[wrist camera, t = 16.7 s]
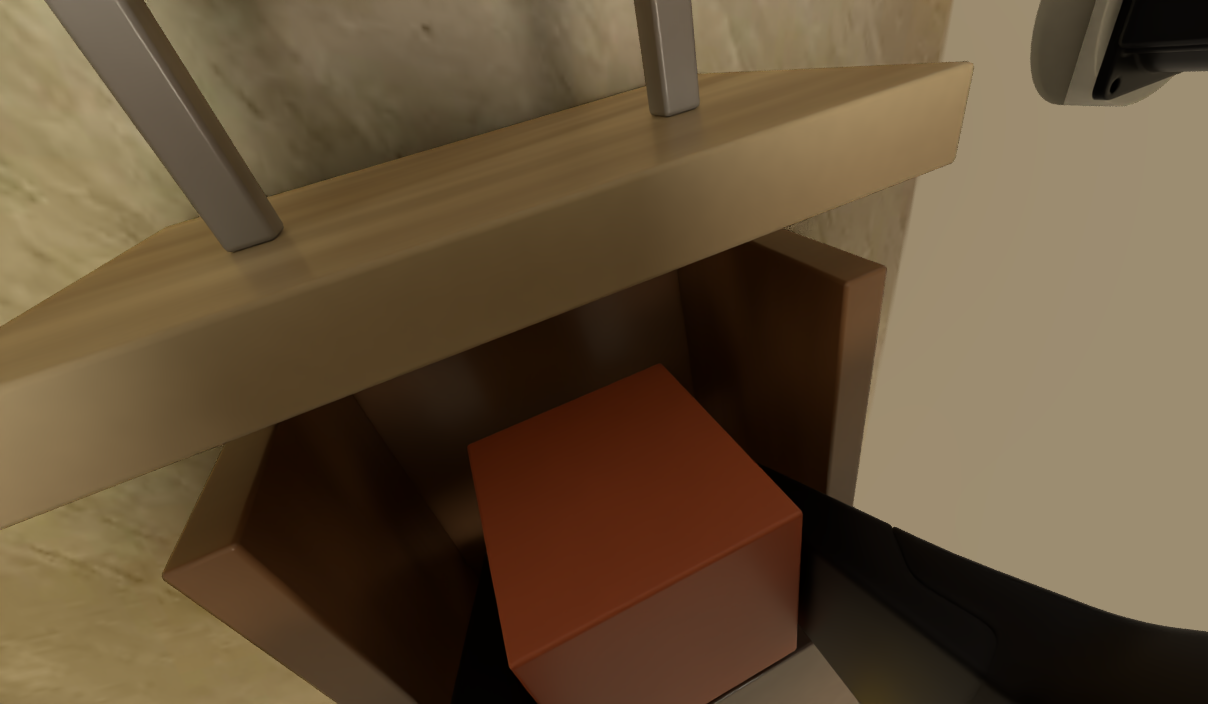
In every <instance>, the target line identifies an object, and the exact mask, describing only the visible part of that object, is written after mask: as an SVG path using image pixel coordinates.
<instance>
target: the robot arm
mask: <svg viewBox="0 0 1208 704" xmlns="http://www.w3.org/2000/svg"><path fill="white" fill-rule="evenodd" d="M1184 71H1208V0H1123V2H1122V5H1121V8H1120V11H1119V14H1118V17H1117V20H1116V23H1115V26H1114V29H1113V31H1112V34H1111V37H1110V40H1109V43H1108V46H1107V49H1106V52H1105V55H1104V58H1103V61H1102V64H1101V67H1100V70H1099V73H1098V76H1097V79H1096V82H1095V85H1094V88H1093V91H1092V98H1093V99H1094V100H1111V99H1114V98H1116V97H1119V96H1121V95H1124V94H1127V93H1129V92H1132V91H1135V90H1137V89H1140V88H1142V87H1145V86H1148V85H1150V84H1153V83H1155V82H1158V81H1161V80H1163V79H1166V78H1168V77H1171V76H1174V75H1176V74H1179V73H1181V72H1184ZM754 462H755V463H756V464H757V465H758V466H759V467H760V468H761V469H762V470H763V471H764V472H765V473H766V474H767V475H768V476H769V477H770V478H771V479H772V480H773V481H774V483H775V484H776V485H777V486H778V487H779V488H780V489H781V490H782V491H783V492H784V493H785V494H786V495H787V496H788V497H789V498H790V499H791V500H792V501H793V503H794V504H795V505H796V506H797V507H798V508H799V509H800V510H801V511H802V514H803V520H802V541H801V563H800V584H799V605H798V624H799V625H800V627H801V628H802V629H803V631H804V632H805V633H806V634H807V636H808V637H809V638H810V640H811V641H812V642H813V644H814V645H815V646H816V647H817V649H818V650H819V651H820V653H821V654H822V655H823V657H824V658H825V659H826V660H827V662H828V663H829V664H830V666H831V667H832V668H833V669H834V671H835V672H836V673H837V675H838V676H839V677H840V679H841V680H842V681H843V682H844V684H845V685H846V686H847V688H848V689H849V690H850V692H851V693H852V694H853V695H854V697H855V698H856V699H857V701H858V702H859V703H860V704H1208V632H1206V631H1198V630H1190V629H1181V628H1173V627H1167V626H1161V625H1156V624H1151V623H1146V622H1142V621H1138V620H1134V619H1130V618H1126V617H1123V616H1119V615H1116V614H1113V613H1109V612H1106V611H1103V610H1101V609H1098V608H1095V607H1092V606H1089V605H1087V604H1084V603H1082V602H1079V601H1076V600H1074V599H1071V598H1068V597H1066V596H1063V595H1060V594H1058V593H1055V592H1052V591H1050V590H1047V589H1044V588H1042V587H1039V586H1037V585H1034V584H1031V583H1029V582H1026V581H1023V580H1020V579H1018V578H1015V577H1013V576H1010V575H1008V574H1005V573H1002V572H1000V571H997V570H994V569H992V568H989V567H987V566H984V565H982V564H979V563H977V562H974V561H972V560H969V559H967V558H964V557H962V556H959V555H957V554H954V553H952V552H950V551H947V550H945V549H943V548H940V547H938V546H936V545H934V544H932V543H929V542H927V541H925V540H923V539H920V538H918V537H916V536H914V535H912V534H910V533H908V532H905V531H903V530H901V529H899V528H897V527H893V528H892V526H891V525H890V524H888V523H886V522H883V521H881V520H879V519H877V518H875V517H873V516H871V515H869V514H867V513H864V512H862V511H860V510H858V509H856V508H854V507H852V506H850V505H847V504H845V503H843V502H841V501H839V500H837V499H835V498H832V497H830V496H828V495H826V494H824V493H822V492H820V491H818V490H815V489H813V488H811V487H809V486H807V485H805V484H803V483H800V482H798V481H796V480H794V479H792V478H790V477H788V476H786V475H783V474H781V473H779V472H777V471H775V470H773V469H771V468H769V467H766V466H764V465H762V464H760V463H758V462H756V461H754ZM450 704H537V703H536V701H535V700H534V699H533V697H532V696H531V695H530V694H529V692H528V691H527V690H526V688H525V687H524V686H523V685H522V683H521V682H520V681H519V679H518V678H517V677H516V676H515V674H514V673H513V672H512V670H511V669H510V668H509V665H508V660H507V655H506V649H505V644H504V639H503V634H502V628H501V623H500V618H499V613H498V607H497V602H496V597H495V592H494V587H493V581H492V576H491V571H490V566H489V560H488V555H487V551H486V553H485V556H484V560H483V564H482V569H481V573H480V577H479V581H478V586H477V590H476V594H475V599H474V603H473V607H472V612H471V616H470V620H469V625H468V629H467V633H466V637H465V642H464V646H463V650H462V655H461V659H460V663H459V668H458V672H457V676H456V681H455V685H454V689H453V693H452V698H451V702H450Z"/></svg>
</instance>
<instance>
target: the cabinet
mask: <svg viewBox="0 0 1208 704" xmlns="http://www.w3.org/2000/svg"><path fill="white" fill-rule="evenodd" d="M707 704H860V703H859V702H858V701H857V699H856V698H855V697H854V695H853V694H852V693H851V692H850V690H849V689H848V688H847V686H846V685H845V684H844V682H843V681H842V680H841V679H840V677H839V676H838V675H837V673H836V672H835V671H834V669H833V668H832V667H831V666H830V664H829V663H828V662H827V660H826V659H825V658H824V657H823V655H822V654H821V653H820V651H819V650H818V649H817V647H816V646H815V645H814V644H813V642H812V641H811V640H810V638H809V637H808V636H807V634H806V633H805V632H804V631H803V629H802V628H801V627H800V625H799V624H798V627H797V648H796V650H795V651H793V652H792V653H790V654H788V655H787V656H785V657H783V658H782V659H780V660H778V661H777V662H775V663H773V664H772V665H770V666H768V667H767V668H765V669H763V670H762V671H760V672H758V673H757V674H755V675H753V676H752V677H750V678H748V679H747V680H745V681H743V682H742V683H740V684H738V685H737V686H735V687H733V688H732V689H730V690H728V691H727V692H725V693H723V694H722V695H720V696H718V697H717V698H715V699H713V700H712V701H710V702H708V703H707Z"/></svg>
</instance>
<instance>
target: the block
mask: <svg viewBox="0 0 1208 704" xmlns="http://www.w3.org/2000/svg"><path fill="white" fill-rule="evenodd" d="M467 451H468V456H469V461H470V466H471V472H472V477H473V482H474V487H475V492H476V498H477V503H478V508H479V513H480V519H481V524H482V529H483V534H484V540H485V545H486V550H487V555H488V560H489V566H490V571H491V576H492V581H493V587H494V592H495V597H496V602H497V607H498V613H499V618H500V623H501V628H502V634H503V639H504V644H505V649H506V655H507V660H508V665H509V668H510V669H511V670H512V672H513V673H514V674H515V676H516V677H517V678H518V679H519V681H520V682H521V683H522V685H523V686H524V687H525V688H526V690H527V691H528V692H529V694H530V695H531V696H532V697H533V699H534V700H535V701H536V703H537V704H707V703H708V702H710V701H712V700H713V699H715V698H717V697H718V696H720V695H722V694H723V693H725V692H727V691H728V690H730V689H732V688H733V687H735V686H737V685H738V684H740V683H742V682H743V681H745V680H747V679H748V678H750V677H752V676H753V675H755V674H757V673H758V672H760V671H762V670H763V669H765V668H767V667H768V666H770V665H772V664H773V663H775V662H777V661H778V660H780V659H782V658H783V657H785V656H787V655H788V654H790V653H792V652H793V651H795V650H796V648H797V627H798V605H799V584H800V563H801V541H802V520H803V514H802V511H801V510H800V509H799V508H798V507H797V506H796V505H795V504H794V503H793V501H792V500H791V499H790V498H789V497H788V496H787V495H786V494H785V493H784V492H783V491H782V490H781V489H780V488H779V487H778V486H777V485H776V484H775V483H774V481H773V480H772V479H771V478H770V477H769V476H768V475H767V474H766V473H765V472H764V471H763V470H762V469H761V468H760V467H759V466H758V465H757V464H756V463H755V462H754V460H753V459H752V458H751V457H750V456H749V455H748V454H747V453H746V452H745V451H744V450H743V449H742V448H741V447H740V446H739V445H738V444H737V443H736V442H735V441H734V439H733V438H732V437H731V436H730V435H729V434H728V433H727V432H726V431H725V430H724V429H723V428H722V427H721V426H720V425H719V424H718V423H717V422H716V421H715V419H714V418H713V417H712V416H711V415H710V414H709V413H708V412H707V411H706V410H705V409H704V408H703V407H702V406H701V405H700V404H699V403H698V402H697V401H696V400H695V398H694V397H693V396H692V395H691V394H690V393H689V392H688V391H687V390H686V389H685V388H684V387H683V386H682V385H681V384H680V383H679V382H678V381H677V380H676V378H675V377H674V376H673V375H672V374H671V373H670V372H669V371H668V370H667V369H666V368H665V367H664V366H663V365H662V364H661V363H658V364H656V365H654V366H651V367H649V368H647V369H644V370H642V371H640V372H637V373H635V374H633V375H630V376H628V377H625V378H623V379H621V380H618V381H616V382H614V383H611V384H609V385H607V386H604V387H602V388H600V389H597V390H595V391H593V392H590V393H588V394H586V395H583V396H581V397H579V398H576V399H574V400H572V401H569V402H567V403H565V404H562V405H560V406H558V407H555V408H553V409H551V410H548V411H546V412H544V413H541V414H539V415H536V416H534V417H532V418H529V419H527V420H525V421H522V422H520V423H518V424H515V425H513V426H511V427H508V428H506V429H504V430H501V431H499V432H497V433H494V434H492V435H490V436H487V437H485V438H483V439H480V440H478V441H476V442H473V443H471V444H469V445H468V446H467Z"/></svg>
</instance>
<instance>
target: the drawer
mask: <svg viewBox="0 0 1208 704" xmlns="http://www.w3.org/2000/svg"><path fill="white" fill-rule="evenodd" d="M45 2H46V3H47V5H48V6H49V7H50V9H51V10H52V11H53V13H54V14H55V16H56V17H57V18H58V20H59V21H60V23H61V24H62V25H63V27H64V28H65V29H66V31H67V32H68V34H69V35H70V36H71V38H72V39H73V41H74V42H75V43H76V45H77V46H78V47H79V49H80V50H81V52H82V53H83V54H84V56H85V57H86V59H87V60H88V61H89V63H90V64H91V65H92V67H93V68H94V70H95V71H96V72H97V74H98V75H99V77H100V78H101V79H102V81H103V82H104V83H105V85H106V86H107V88H108V89H109V90H110V92H111V93H112V95H113V96H114V97H115V99H116V100H117V101H118V103H119V104H120V106H121V107H122V108H123V110H124V111H125V113H126V114H127V115H128V117H129V118H130V119H131V121H132V122H133V124H134V125H135V126H136V128H137V129H138V131H139V132H140V133H141V135H142V136H143V137H144V139H145V140H146V142H147V143H148V144H149V146H150V147H151V148H152V150H153V151H154V153H155V154H156V155H157V157H158V158H159V160H160V161H161V162H162V164H163V165H164V166H165V168H166V169H167V171H168V172H169V173H170V175H171V176H172V178H173V179H174V180H175V182H176V183H177V184H178V186H179V187H180V189H181V190H182V191H183V193H184V194H185V196H186V197H187V198H188V200H189V201H190V202H191V204H192V205H193V207H194V208H195V209H196V211H197V212H198V214H199V215H200V216H201V217H198V218H195V219H191V220H188V221H184V222H181V223H177V224H174V225H171V226H167V227H165V228H164V229H162V230H160V231H159V232H157V233H155V234H154V235H152V236H150V237H149V238H147V239H145V240H144V241H142V242H140V243H139V244H137V245H135V246H134V247H132V248H130V249H129V250H127V251H125V252H124V253H122V254H120V255H119V256H117V257H115V258H114V259H112V260H110V261H109V262H107V263H105V264H104V265H102V266H100V267H99V268H97V269H95V270H94V271H92V272H90V273H89V274H87V275H85V276H84V277H82V278H80V279H79V280H77V281H76V282H74V283H72V284H71V285H69V286H67V287H66V288H64V289H62V290H61V291H59V292H57V293H56V294H54V295H52V296H51V297H49V298H47V299H46V300H44V301H42V302H41V303H39V304H37V305H36V306H34V307H32V308H31V309H29V310H27V311H26V312H24V313H22V314H21V315H19V316H17V317H16V318H14V319H12V320H11V321H9V322H7V323H6V324H4V325H2V326H1V327H0V530H2V529H4V528H7V527H9V526H12V525H15V524H17V523H20V522H22V521H25V520H27V519H30V518H33V517H35V516H38V515H40V514H43V513H46V512H48V511H51V510H53V509H56V508H59V507H61V506H64V505H66V504H69V503H72V502H74V501H77V500H79V499H82V498H85V497H87V496H90V495H92V494H95V493H98V492H100V491H103V490H105V489H108V488H111V487H113V486H116V485H118V484H121V483H123V482H126V481H129V480H131V479H134V478H136V477H139V476H142V475H144V474H147V473H149V472H152V471H155V470H157V469H160V468H162V467H165V466H168V465H170V464H173V463H175V462H178V461H181V460H183V459H186V458H188V457H191V456H194V455H196V454H199V453H201V452H204V451H206V450H209V449H212V448H214V447H217V446H219V445H222V444H225V445H224V447H223V449H222V451H221V453H220V455H219V457H218V459H217V461H216V463H215V465H214V467H213V469H212V471H211V473H210V476H209V478H208V480H207V482H206V484H205V486H204V488H203V490H202V492H201V494H200V496H199V498H198V500H197V502H196V504H195V507H194V509H193V511H192V513H191V515H190V517H189V519H188V521H187V523H186V525H185V527H184V529H183V531H182V533H181V535H180V538H179V540H178V542H177V544H176V546H175V548H174V550H173V552H172V554H171V556H170V558H169V560H168V562H167V564H166V566H165V569H164V571H163V573H162V578H163V580H164V581H165V582H167V583H168V584H170V585H171V586H173V587H174V588H175V589H177V590H178V591H180V592H181V593H182V594H184V595H185V596H187V597H188V598H189V599H191V600H192V601H194V602H195V603H196V604H198V605H199V606H201V607H202V608H203V609H205V610H206V611H208V612H209V613H211V614H212V615H213V616H215V617H216V618H218V619H219V620H220V621H222V622H223V623H225V624H226V625H227V626H229V627H230V628H232V629H233V630H234V631H236V632H237V633H239V634H240V635H242V636H243V637H244V638H246V639H247V640H249V641H250V642H251V643H253V644H254V645H256V646H257V647H258V648H260V649H261V650H263V651H264V652H265V653H267V654H268V655H270V656H271V657H273V658H274V659H275V660H277V661H278V662H280V663H281V664H282V665H284V666H285V667H287V668H288V669H289V670H291V671H292V672H294V673H295V674H296V675H298V676H299V677H301V678H302V679H304V680H305V681H306V682H308V683H309V684H311V685H312V686H313V687H315V688H316V689H318V690H319V691H320V692H322V693H323V694H325V695H326V696H327V697H329V698H330V699H332V700H333V701H335V702H336V703H337V704H450V702H451V698H452V693H453V689H454V685H455V681H456V676H457V672H458V668H459V663H460V659H461V655H462V650H463V646H464V642H465V637H466V633H467V629H468V625H469V620H470V616H471V612H472V607H473V603H474V599H475V594H476V590H477V586H478V581H479V577H480V573H481V569H482V564H483V560H484V556H485V553H486V551H487V550H486V545H485V540H484V534H483V529H482V524H481V519H480V513H479V508H478V503H477V498H476V492H475V487H474V482H473V477H472V472H471V466H470V461H469V456H468V451H467V446H468V445H469V444H471V443H473V442H476V441H478V440H480V439H483V438H485V437H487V436H490V435H492V434H494V433H497V432H499V431H501V430H504V429H506V428H508V427H511V426H513V425H515V424H518V423H520V422H522V421H525V420H527V419H529V418H532V417H534V416H536V415H539V414H541V413H544V412H546V411H548V410H551V409H553V408H555V407H558V406H560V405H562V404H565V403H567V402H569V401H572V400H574V399H576V398H579V397H581V396H583V395H586V394H588V393H590V392H593V391H595V390H597V389H600V388H602V387H604V386H607V385H609V384H611V383H614V382H616V381H618V380H621V379H623V378H625V377H628V376H630V375H633V374H635V373H637V372H640V371H642V370H644V369H647V368H649V367H651V366H654V365H656V364H658V363H661V364H662V365H663V366H664V367H665V368H666V369H667V370H668V371H669V372H670V373H671V374H672V375H673V376H674V377H675V378H676V380H677V381H678V382H679V383H680V384H681V385H682V386H683V387H684V388H685V389H686V390H687V391H688V392H689V393H690V394H691V395H692V396H693V397H694V398H695V400H696V401H697V402H698V403H699V404H700V405H701V406H702V407H703V408H704V409H705V410H706V411H707V412H708V413H709V414H710V415H711V416H712V417H713V418H714V419H715V421H716V422H717V423H718V424H719V425H720V426H721V427H722V428H723V429H724V430H725V431H726V432H727V433H728V434H729V435H730V436H731V437H732V438H733V439H734V441H735V442H736V443H737V444H738V445H739V446H740V447H741V448H742V449H743V450H744V451H745V452H746V453H747V454H748V455H749V456H750V457H751V458H752V459H753V460H754V461H756V462H758V463H760V464H762V465H764V466H766V467H769V468H771V469H773V470H775V471H777V472H779V473H781V474H783V475H786V476H788V477H790V478H792V479H794V480H796V481H798V482H800V483H803V484H805V485H807V486H809V487H811V488H813V489H815V490H818V491H820V492H822V493H824V494H826V495H828V496H830V497H832V498H835V499H837V500H839V501H841V502H843V503H845V504H847V505H850V506H852V507H853V501H854V494H855V488H856V481H857V474H858V467H859V460H860V453H861V446H862V439H863V432H864V425H865V418H866V411H867V404H868V397H869V391H870V384H871V377H872V370H873V363H874V356H875V349H876V342H877V335H878V328H879V321H880V314H881V307H882V300H883V294H884V287H885V280H886V273H887V268H886V267H885V266H884V265H881V264H878V263H876V262H873V261H870V260H867V259H865V258H862V257H859V256H857V255H854V254H851V253H848V252H846V251H843V250H840V249H837V248H835V247H832V246H829V245H826V244H824V243H821V242H818V241H815V240H813V239H810V238H807V237H805V236H802V235H799V234H796V233H794V232H791V231H788V230H785V229H783V228H785V227H788V226H790V225H793V224H795V223H798V222H801V221H803V220H806V219H808V218H811V217H813V216H816V215H819V214H821V213H824V212H826V211H829V210H832V209H834V208H837V207H839V206H842V205H845V204H847V203H850V202H852V201H855V200H858V199H860V198H863V197H865V196H868V195H871V194H873V193H876V192H878V191H881V190H884V189H886V188H889V187H891V186H894V185H897V184H899V183H902V182H904V181H907V180H909V179H912V178H915V177H917V176H920V175H922V174H925V173H928V172H930V171H933V170H935V169H938V168H941V167H943V166H945V165H948V164H951V163H952V162H953V161H954V159H955V157H956V152H957V148H958V143H959V138H960V133H961V128H962V123H963V119H964V114H965V109H966V104H967V99H968V94H969V89H970V84H971V80H972V75H973V70H974V66H973V63H970V62H967V61H965V62H964V61H963V62H942V63H920V64H898V65H877V66H855V67H834V68H812V69H790V70H769V71H747V72H726V73H704V74H697V63H696V52H695V40H694V29H693V17H692V6H691V0H634V6H635V13H636V20H637V27H638V34H639V41H640V48H641V55H642V62H643V69H644V76H645V83H646V86H644V87H641V88H638V89H634V90H631V91H627V92H624V93H621V94H617V95H614V96H610V97H607V98H604V99H600V100H597V101H593V102H590V103H586V104H583V105H580V106H576V107H573V108H569V109H566V110H563V111H559V112H556V113H552V114H549V115H546V116H542V117H539V118H535V119H532V120H529V121H525V122H522V123H518V124H515V125H511V126H508V127H505V128H501V129H498V130H494V131H491V132H488V133H484V134H481V135H477V136H474V137H471V138H467V139H464V140H460V141H457V142H454V143H450V144H447V145H443V146H440V147H437V148H433V149H430V150H426V151H423V152H419V153H416V154H413V155H409V156H406V157H402V158H399V159H396V160H392V161H389V162H385V163H382V164H379V165H375V166H372V167H368V168H365V169H362V170H358V171H355V172H351V173H348V174H344V175H341V176H338V177H334V178H331V179H327V180H324V181H321V182H317V183H314V184H310V185H307V186H304V187H300V188H297V189H293V190H290V191H287V192H283V193H280V194H276V195H273V196H270V197H266V195H265V194H264V192H263V191H262V189H261V187H260V186H259V184H258V183H257V181H256V179H255V178H254V176H253V175H252V173H251V171H250V170H249V168H248V167H247V165H246V163H245V162H244V160H243V159H242V157H241V155H240V154H239V152H238V151H237V149H236V147H235V146H234V144H233V143H232V141H231V139H230V138H229V136H228V135H227V133H226V131H225V130H224V128H223V127H222V125H221V123H220V122H219V120H218V119H217V117H216V115H215V114H214V112H213V111H212V109H211V107H210V106H209V104H208V103H207V101H206V99H205V98H204V96H203V95H202V93H201V91H200V90H199V88H198V87H197V85H196V83H195V82H194V80H193V79H192V77H191V75H190V74H189V72H188V71H187V69H186V67H185V66H184V64H183V63H182V61H181V59H180V58H179V56H178V55H177V53H176V51H175V50H174V48H173V47H172V45H171V43H170V42H169V40H168V39H167V37H166V35H165V34H164V32H163V31H162V29H161V27H160V26H159V24H158V23H157V21H156V19H155V18H154V16H153V15H152V13H151V11H150V10H149V8H148V7H147V5H146V3H145V2H144V0H45Z"/></svg>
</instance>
